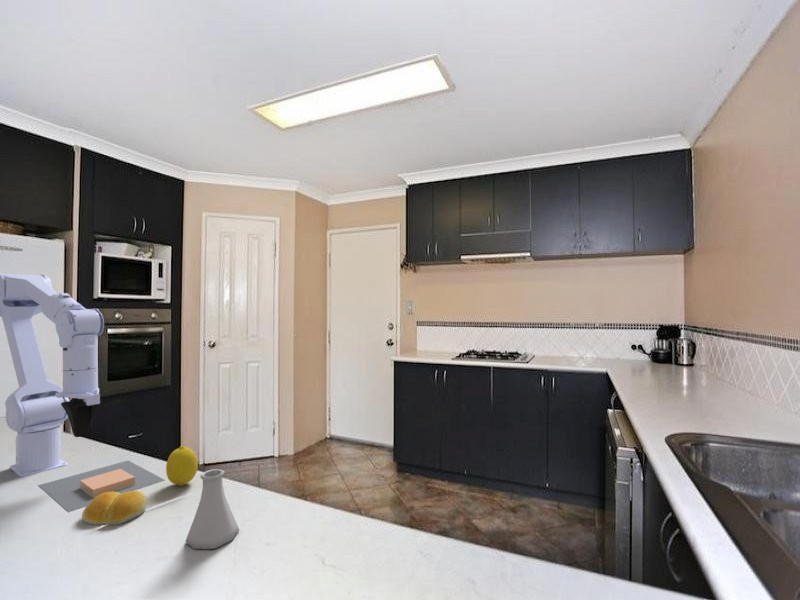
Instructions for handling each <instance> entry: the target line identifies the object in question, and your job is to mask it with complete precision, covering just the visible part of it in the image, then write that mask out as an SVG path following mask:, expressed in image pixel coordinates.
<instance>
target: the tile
mask: <svg viewBox="0 0 800 600" xmlns="http://www.w3.org/2000/svg"><path fill="white" fill-rule="evenodd" d="M132 485H135V477H134V476H132V475H131V474H129V473H127V472H126V471H124V470H122V469H118V470H114V471H111V472H107V473H104V474H100V475H97V476H93V477H90V478H86V479H83V480H80V488H81V489H82V490H83V491H85V492H86V493H87V494H89V495H90V496H91V497H93V498H95V497H97V496H98V495H100V494H102V493H105V492H113V491H116V490H120V489H123V488H126V487H129V486H132Z"/></svg>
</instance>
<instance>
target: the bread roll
mask: <svg viewBox="0 0 800 600" xmlns="http://www.w3.org/2000/svg"><path fill="white" fill-rule="evenodd" d="M147 501H148V500H147V496H146V495H145V493H143V492H141V491H139V490H134V491H128V492H125V493H122V494H120V493H118V492H105V493H102V494H100V495H98V496H97V497H95V498H94V499H93V500H92V501H91V502H90V503H89V505H88V506H86V507H84V509H83V510H82V513H81V518H82V521H83V522H85V523H86V524H89V525H99V526H105V525H107V526H114V525H115V526H116V525H120V524H124V523H127V522H129V521H131V520H134V519H135V518H137V517H139V516H141V515H142V514H143V513H144V512H145V510H146V509H147V504H148V503H147Z"/></svg>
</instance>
